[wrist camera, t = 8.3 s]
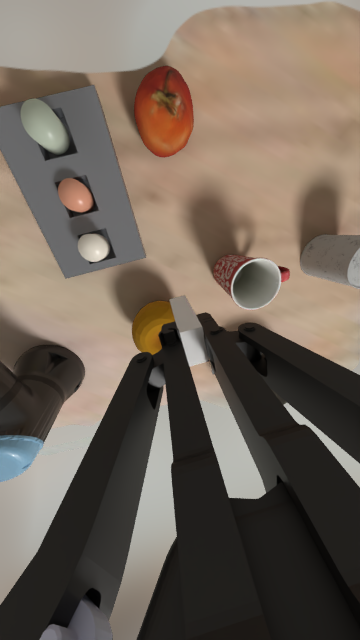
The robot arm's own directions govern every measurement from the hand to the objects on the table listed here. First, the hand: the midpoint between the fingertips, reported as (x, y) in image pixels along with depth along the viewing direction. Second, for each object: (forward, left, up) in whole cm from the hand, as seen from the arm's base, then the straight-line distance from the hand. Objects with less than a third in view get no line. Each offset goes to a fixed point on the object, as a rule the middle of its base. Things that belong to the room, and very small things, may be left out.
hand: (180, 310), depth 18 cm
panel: (-11, +15, -26) cm, 32 cm away
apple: (-4, -12, -27) cm, 29 cm away
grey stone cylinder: (+37, -7, -27) cm, 46 cm away
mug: (+16, -5, -27) cm, 31 cm away
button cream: (-11, +7, -23) cm, 27 cm away
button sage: (-11, +23, -23) cm, 34 cm away
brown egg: (-11, +15, -25) cm, 31 cm away
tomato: (+6, +22, -27) cm, 35 cm away
